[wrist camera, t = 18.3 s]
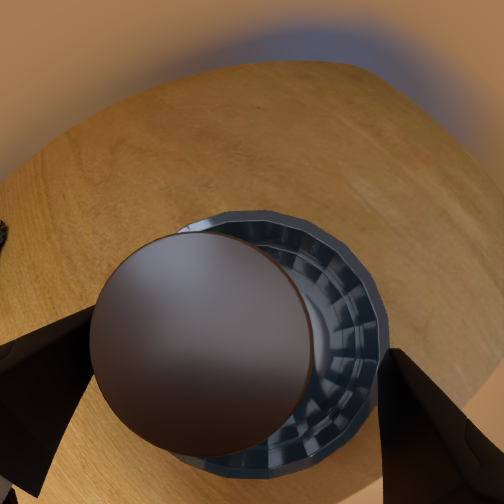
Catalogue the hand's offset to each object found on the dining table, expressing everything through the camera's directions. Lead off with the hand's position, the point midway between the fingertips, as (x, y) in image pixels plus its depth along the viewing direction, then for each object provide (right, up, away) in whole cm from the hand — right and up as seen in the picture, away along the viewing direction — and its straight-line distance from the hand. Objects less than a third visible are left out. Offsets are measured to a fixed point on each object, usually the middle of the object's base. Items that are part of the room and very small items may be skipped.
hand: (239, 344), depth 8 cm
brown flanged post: (0, -3, +8) cm, 8 cm away
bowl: (+1, -3, +8) cm, 9 cm away
